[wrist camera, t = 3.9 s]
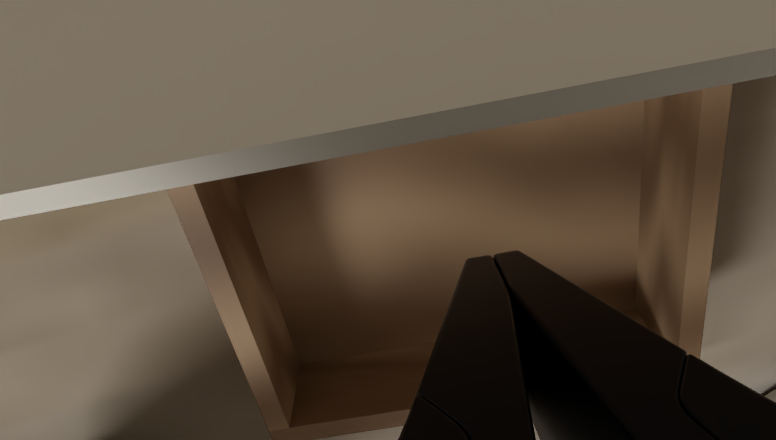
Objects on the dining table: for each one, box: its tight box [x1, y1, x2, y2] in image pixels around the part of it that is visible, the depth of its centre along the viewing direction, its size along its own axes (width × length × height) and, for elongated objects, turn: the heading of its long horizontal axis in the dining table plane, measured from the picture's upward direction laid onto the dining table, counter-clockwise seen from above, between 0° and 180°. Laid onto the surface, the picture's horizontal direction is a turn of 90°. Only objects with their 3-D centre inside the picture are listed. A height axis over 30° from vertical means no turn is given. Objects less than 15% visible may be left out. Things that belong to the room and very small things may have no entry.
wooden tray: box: [167, 84, 733, 440], centre depth 18 cm, size 18×16×4 cm
